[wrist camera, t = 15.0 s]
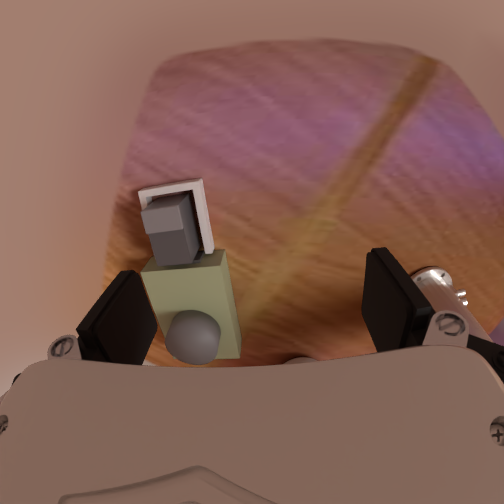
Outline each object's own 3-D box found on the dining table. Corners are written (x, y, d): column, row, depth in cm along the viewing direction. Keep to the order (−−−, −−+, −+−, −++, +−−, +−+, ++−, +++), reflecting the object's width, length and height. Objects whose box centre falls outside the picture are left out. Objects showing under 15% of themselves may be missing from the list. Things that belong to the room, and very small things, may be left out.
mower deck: (212, 176, 37) (198, 192, 29) (241, 338, 49) (238, 376, 41) (134, 190, 38) (104, 208, 30) (179, 340, 50) (168, 375, 42)
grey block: (190, 192, 38) (177, 206, 32) (200, 244, 42) (190, 265, 36) (158, 197, 39) (140, 211, 33) (170, 247, 42) (156, 268, 36)
